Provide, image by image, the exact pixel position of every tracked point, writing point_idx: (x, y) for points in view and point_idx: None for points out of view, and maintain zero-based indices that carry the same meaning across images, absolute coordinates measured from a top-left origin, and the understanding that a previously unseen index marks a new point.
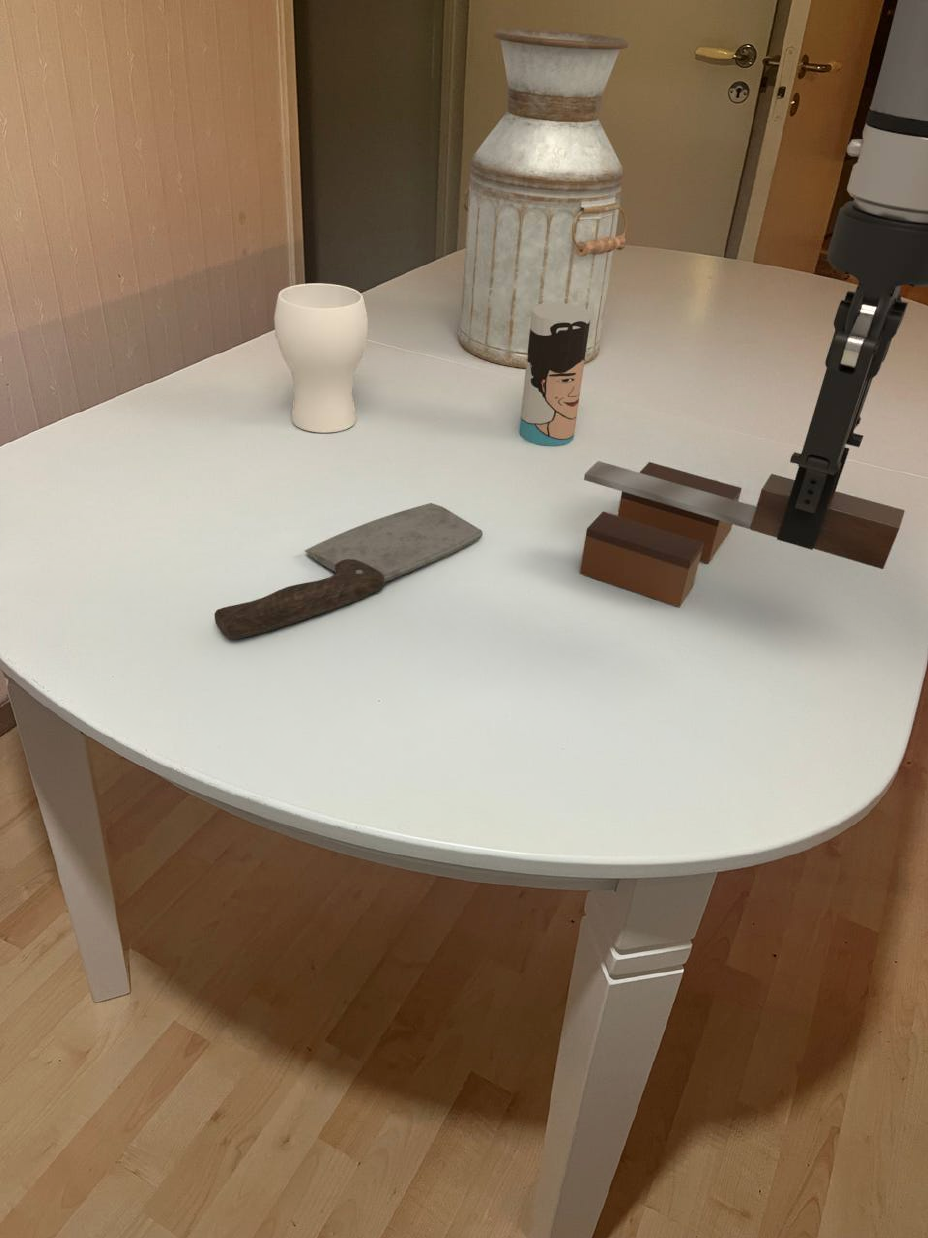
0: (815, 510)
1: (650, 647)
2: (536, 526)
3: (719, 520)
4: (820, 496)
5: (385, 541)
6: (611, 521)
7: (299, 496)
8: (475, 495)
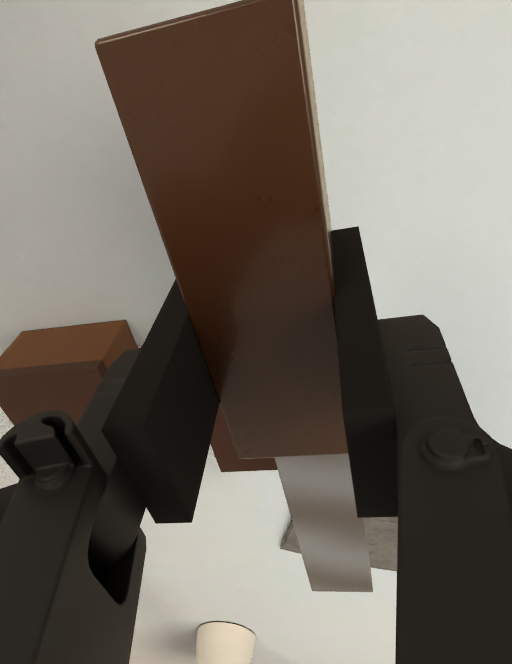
0: (419, 320)
1: (374, 293)
2: (230, 477)
3: (97, 367)
4: (396, 351)
5: (388, 550)
6: (236, 457)
7: (353, 603)
8: (228, 530)
